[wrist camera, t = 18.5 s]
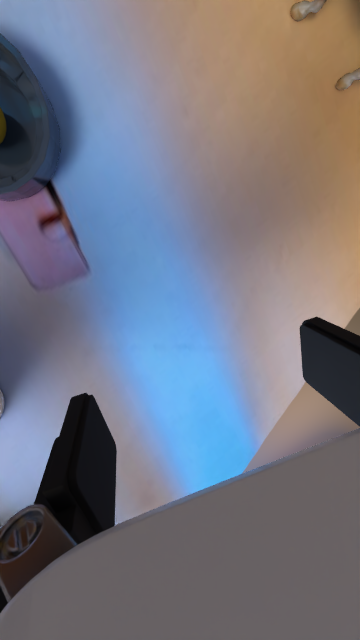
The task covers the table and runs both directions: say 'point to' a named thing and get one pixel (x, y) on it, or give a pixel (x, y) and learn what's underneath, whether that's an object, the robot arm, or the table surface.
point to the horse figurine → (305, 7)
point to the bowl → (25, 129)
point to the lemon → (2, 126)
